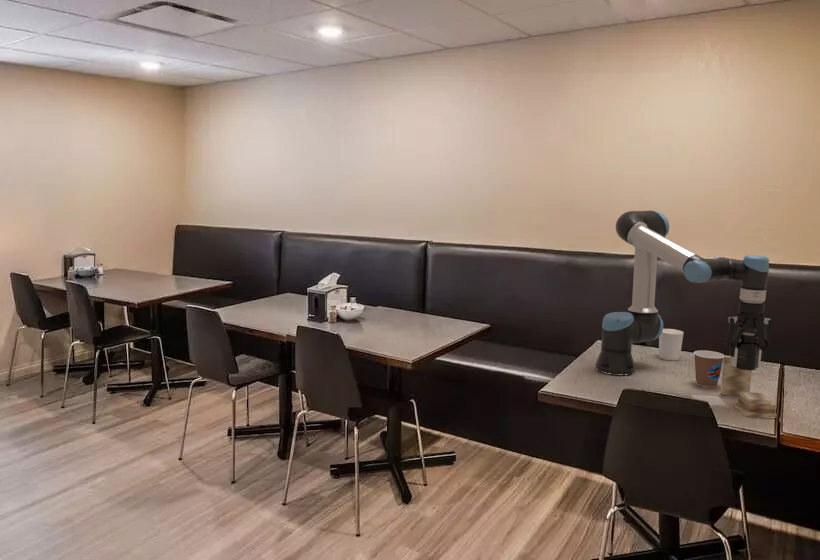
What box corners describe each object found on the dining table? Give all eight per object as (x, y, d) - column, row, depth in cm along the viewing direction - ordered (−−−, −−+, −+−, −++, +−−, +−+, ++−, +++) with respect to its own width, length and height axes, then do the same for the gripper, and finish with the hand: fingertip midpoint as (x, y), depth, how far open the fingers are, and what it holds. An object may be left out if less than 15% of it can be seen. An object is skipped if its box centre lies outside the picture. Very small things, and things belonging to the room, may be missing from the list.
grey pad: (699, 406, 197) (699, 403, 197) (691, 397, 206) (691, 394, 206) (727, 407, 196) (727, 405, 195) (718, 398, 204) (718, 396, 204)
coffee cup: (708, 390, 213) (711, 359, 211) (685, 382, 222) (687, 352, 220) (728, 387, 217) (730, 356, 215) (704, 379, 226) (706, 349, 224)
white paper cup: (685, 361, 250) (687, 334, 248) (662, 361, 250) (664, 333, 249) (675, 354, 260) (677, 328, 258) (653, 354, 260) (655, 328, 258)
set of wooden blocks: (746, 416, 188) (750, 375, 186) (720, 392, 210) (723, 355, 208) (776, 418, 186) (780, 376, 184) (747, 394, 209) (750, 356, 207)
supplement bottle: (760, 371, 197) (764, 336, 195) (740, 370, 197) (744, 336, 195) (749, 364, 203) (753, 331, 202) (729, 364, 204) (733, 331, 202)
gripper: (724, 302, 194) (718, 367, 198) (789, 304, 191) (781, 371, 195) (717, 297, 202) (710, 361, 205) (778, 300, 198) (771, 364, 202)
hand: (745, 366), depth 200 cm, fingers closed on supplement bottle, 7 cm apart
